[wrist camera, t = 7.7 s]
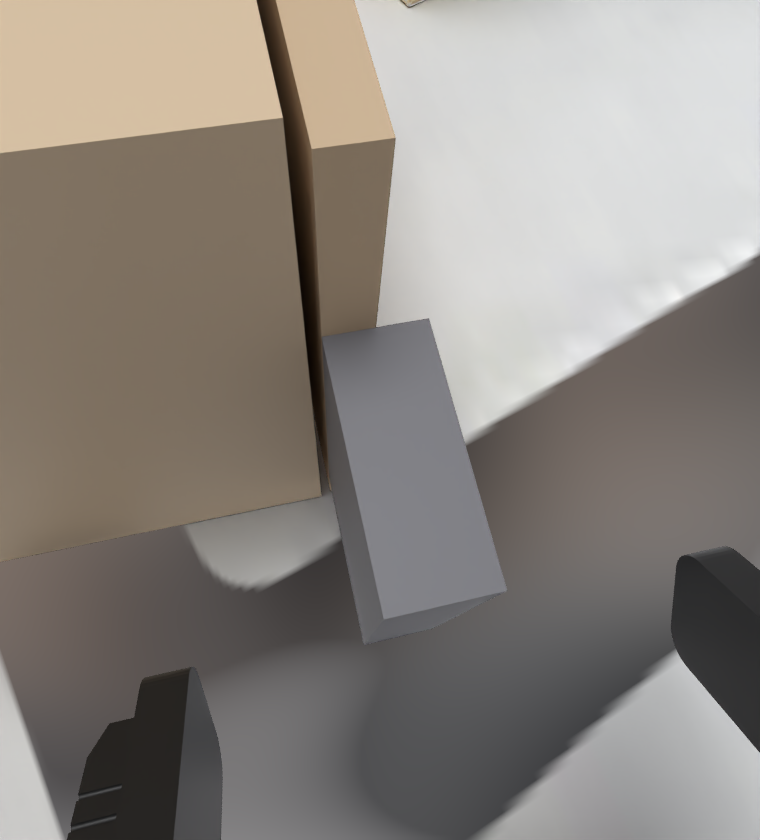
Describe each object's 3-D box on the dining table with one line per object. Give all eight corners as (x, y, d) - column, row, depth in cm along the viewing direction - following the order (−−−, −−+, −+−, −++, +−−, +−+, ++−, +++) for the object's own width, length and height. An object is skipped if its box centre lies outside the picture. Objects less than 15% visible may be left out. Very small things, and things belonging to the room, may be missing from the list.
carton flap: (254, 123, 27) (163, -466, 13) (302, 117, 27) (263, -466, 13) (362, 647, 20) (415, 578, 6) (425, 632, 20) (622, 532, 6)
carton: (-54, 171, 26) (-595, -521, 11) (248, 133, 27) (139, -518, 12) (-58, 575, 20) (-1174, 294, 5) (321, 497, 22) (283, 113, 7)
